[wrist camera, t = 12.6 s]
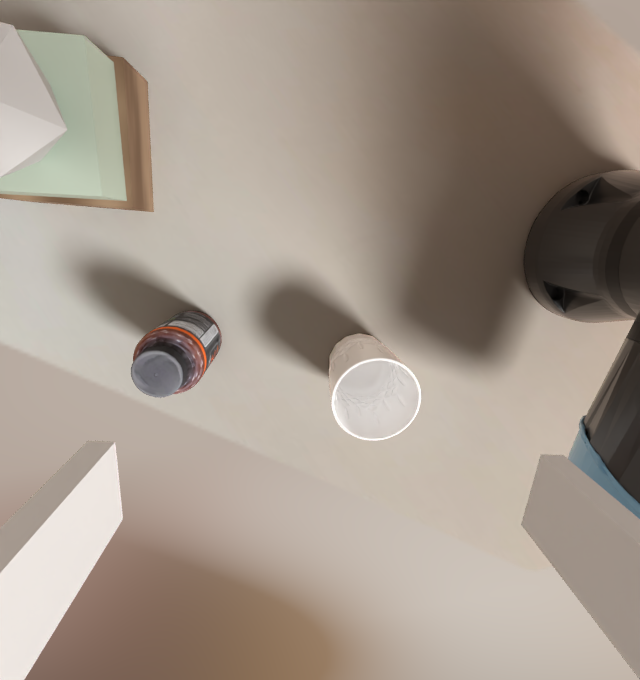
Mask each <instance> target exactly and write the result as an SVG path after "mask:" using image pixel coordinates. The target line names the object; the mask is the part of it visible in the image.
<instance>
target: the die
mask: <svg viewBox="0 0 640 680" xmlns="http://www.w3.org/2000/svg"><path fill="white" fill-rule="evenodd" d="M66 131H67V127H66V124H65V122H64V119H63V117H62V114H61V111H60V109H59V106H58V104H57V101H56V98H55V96H54V93H53V91H52V88H51V85H50V83H49V82H48V80H47V79H46V77H45V75H44V74H43V72H42V71H41V69H40V67H39V66H38V64H37V63H36V61H35V59H34V58H33V56H32V55H31V53H30V51H29V50H28V48H27V47H26V45H25V43H24V42H23V40H22V39H21V37H20V35H19V34H18V32H17V31H16V29H15V27H14V26H13V25H11V24H7V23H3V22H0V178H1V177H3V176H6V175H8V174H11V173H13V172H15V171H18V170H20V169H23V168H25V167H28V166H30V165H32V164H35V163H37V162H40V161H41V160H42V159H43V158H44V157H45V155H46V154H47V153H48V152H49V151H50V150H51V148H52V147H53V146H54V145H55V144H56V143H57V141H58V140H59V139H60V138H61V137H62V136H63V134H64V133H65V132H66Z"/></svg>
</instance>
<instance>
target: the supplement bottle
mask: <svg viewBox="0 0 640 680" xmlns="http://www.w3.org/2000/svg"><path fill="white" fill-rule="evenodd" d="M221 337H222V336H221V332H220V329H219V327H218V325H217V324H216V322H215V321H214V320H213V319H212V318H211V317H209V316H208V315H206V314H204V313H202V312H198V311H185V312H182V313H179V314H177V315H175V316H173V317H172V318H170V319H169V320H167V321H166V322H164V323H163V324H161V325H160V326H158V327H157V328H155V329H154V330H152V331H151V332H149V333H148V334H146V335H145V336H144V337H143V338H142V339H141V340H140V341H139V343H138V344H137V346H136V348H135V351H134V356H133V364H132V367H131V377H132V380H133V382H134V384H135V385H136V387H137V388H138V389H139V390H140V391H142V392H143V393H145V394H147V395H149V396H153V397H166V396H169V395H172V394H178V393H182V392H185V391H187V390H189V389H191V388H192V387H193V386H195V385H196V384H197V382H198V381H199V380H200V379H201V377H202V376H203V374H204V373H205V371H206V370H207V368H208V367H209V365H210V364H211V362H212V361H213V359H214V358H215V356H216V355H217V353H218V351H219V349H220V346H221Z"/></svg>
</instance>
